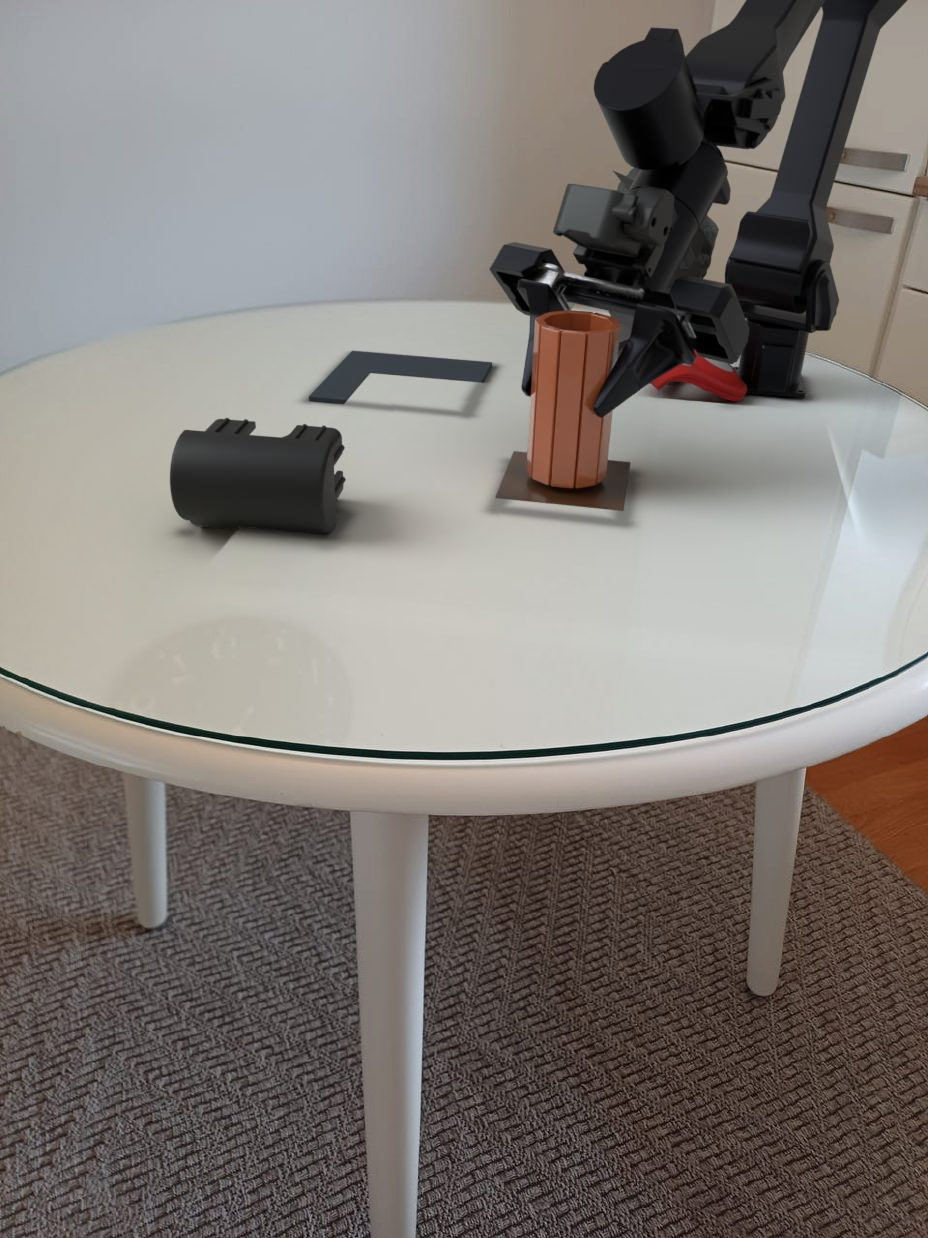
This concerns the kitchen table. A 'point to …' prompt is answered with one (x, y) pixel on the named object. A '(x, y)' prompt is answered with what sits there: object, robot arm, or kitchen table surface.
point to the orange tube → (570, 397)
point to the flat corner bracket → (393, 372)
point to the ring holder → (596, 496)
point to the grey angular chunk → (698, 268)
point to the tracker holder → (707, 378)
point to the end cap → (257, 477)
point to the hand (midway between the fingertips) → (560, 403)
